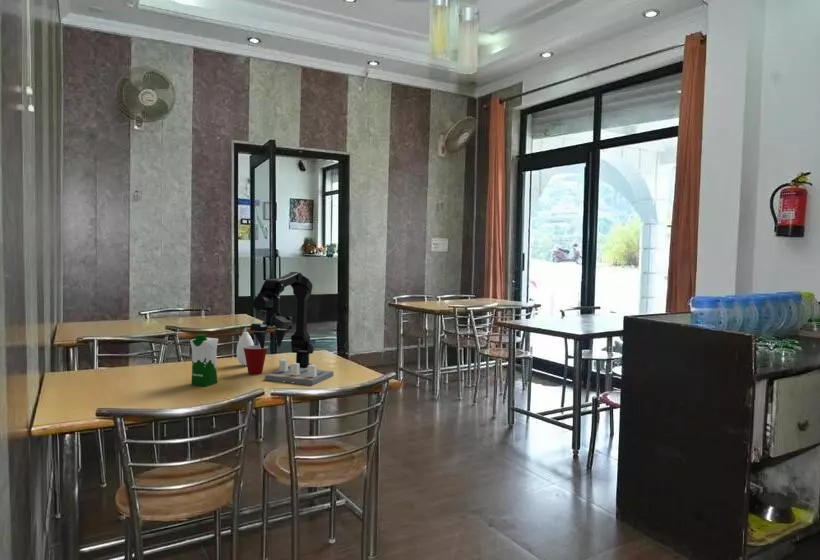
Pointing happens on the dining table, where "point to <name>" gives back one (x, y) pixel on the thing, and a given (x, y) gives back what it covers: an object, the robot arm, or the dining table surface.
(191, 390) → the dining table surface
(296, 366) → the block
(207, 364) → the milk carton
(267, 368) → the dining table surface
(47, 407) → the dining table surface
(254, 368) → the plastic cup
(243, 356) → the sauce bottle
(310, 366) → the block
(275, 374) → the breaker panel
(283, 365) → the block
